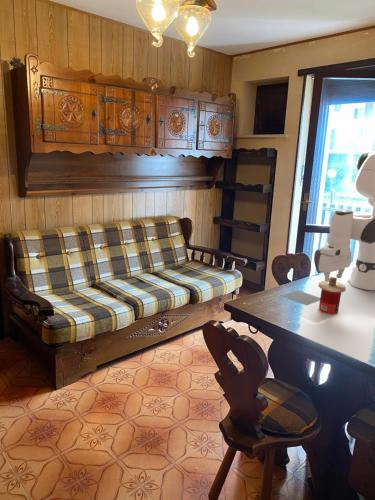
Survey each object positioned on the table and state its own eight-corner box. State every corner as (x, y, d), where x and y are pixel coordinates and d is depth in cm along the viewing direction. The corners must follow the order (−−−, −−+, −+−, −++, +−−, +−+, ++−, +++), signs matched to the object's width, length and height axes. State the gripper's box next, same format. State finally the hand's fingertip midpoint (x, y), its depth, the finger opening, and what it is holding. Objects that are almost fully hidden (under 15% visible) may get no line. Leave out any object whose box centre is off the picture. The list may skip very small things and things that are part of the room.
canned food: (339, 316, 165) (343, 291, 162) (319, 313, 166) (323, 289, 164) (336, 309, 172) (340, 286, 169) (317, 307, 174) (321, 283, 171)
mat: (298, 290, 193) (298, 290, 193) (323, 299, 183) (323, 299, 183) (280, 296, 184) (280, 295, 184) (306, 306, 174) (306, 305, 174)
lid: (326, 281, 174) (328, 272, 173) (350, 289, 166) (351, 279, 165) (313, 286, 167) (314, 276, 166) (337, 294, 159) (339, 283, 158)
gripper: (343, 244, 171) (338, 273, 174) (318, 249, 158) (313, 281, 162) (357, 247, 166) (352, 277, 170) (332, 252, 153) (327, 285, 157)
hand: (333, 279), depth 166 cm, fingers open, 8 cm apart
